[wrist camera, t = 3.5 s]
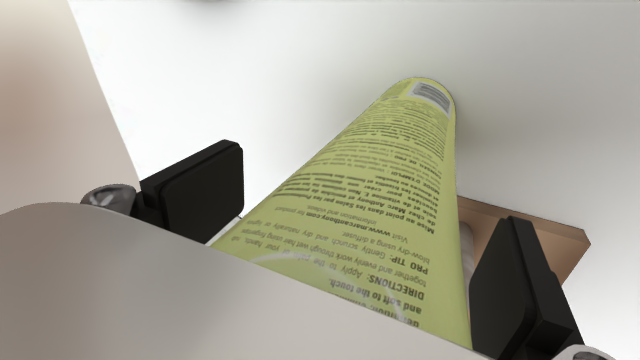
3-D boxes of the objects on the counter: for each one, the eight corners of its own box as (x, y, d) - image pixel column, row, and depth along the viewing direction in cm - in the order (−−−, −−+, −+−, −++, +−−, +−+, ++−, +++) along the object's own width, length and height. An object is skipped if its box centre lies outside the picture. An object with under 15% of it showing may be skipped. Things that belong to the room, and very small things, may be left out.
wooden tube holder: (583, 229, 19) (637, 328, 13) (489, 368, 27) (496, 469, 21) (369, 172, 23) (336, 227, 17) (342, 307, 31) (313, 378, 25)
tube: (398, 166, 22) (236, 538, 6) (356, 111, 22) (61, 371, 6) (473, 123, 19) (520, 649, 3) (427, 56, 19) (202, 303, 3)
